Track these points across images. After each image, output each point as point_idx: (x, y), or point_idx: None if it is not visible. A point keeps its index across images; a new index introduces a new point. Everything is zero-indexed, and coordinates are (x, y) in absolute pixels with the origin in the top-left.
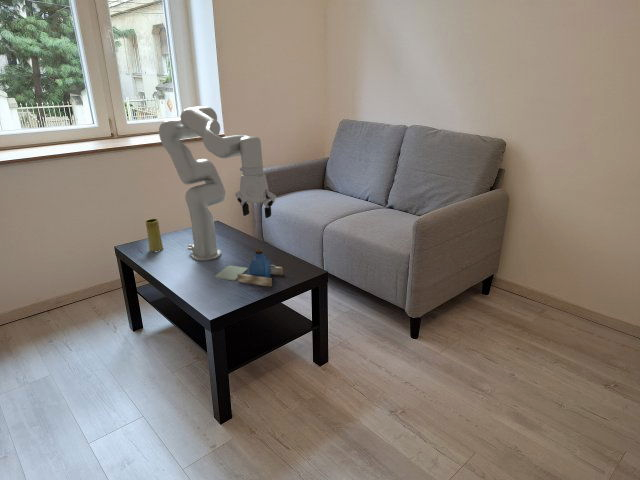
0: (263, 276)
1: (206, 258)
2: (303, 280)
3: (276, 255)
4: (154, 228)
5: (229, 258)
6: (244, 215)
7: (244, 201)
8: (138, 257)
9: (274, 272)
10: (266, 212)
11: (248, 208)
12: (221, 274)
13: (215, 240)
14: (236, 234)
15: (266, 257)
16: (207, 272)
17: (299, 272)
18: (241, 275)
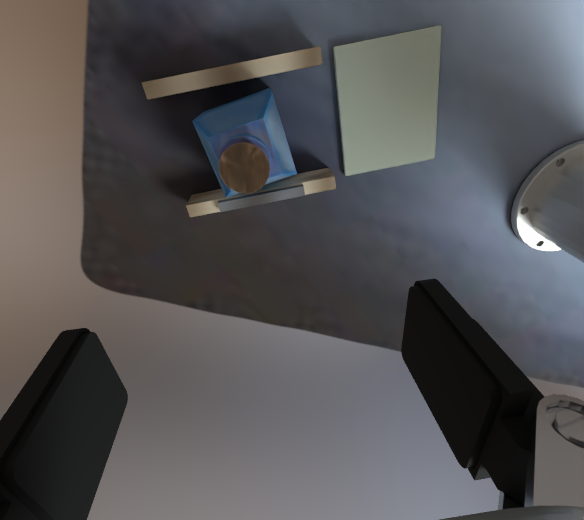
0: (209, 111)
1: (554, 159)
2: (87, 199)
3: (315, 310)
4: None
5: (464, 218)
6: (420, 282)
7: (547, 518)
8: None
9: (220, 191)
10: (22, 399)
11: (432, 406)
12: (420, 62)
13: (574, 246)
14: (521, 364)
15: (228, 189)
16: (496, 60)
17: (152, 245)
18: (297, 51)
